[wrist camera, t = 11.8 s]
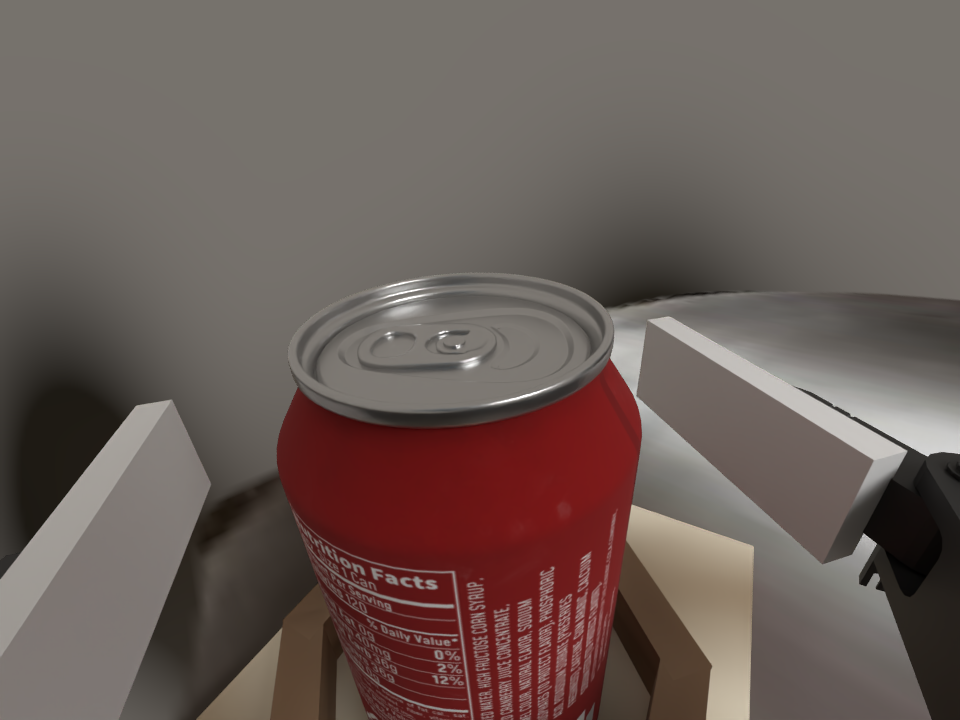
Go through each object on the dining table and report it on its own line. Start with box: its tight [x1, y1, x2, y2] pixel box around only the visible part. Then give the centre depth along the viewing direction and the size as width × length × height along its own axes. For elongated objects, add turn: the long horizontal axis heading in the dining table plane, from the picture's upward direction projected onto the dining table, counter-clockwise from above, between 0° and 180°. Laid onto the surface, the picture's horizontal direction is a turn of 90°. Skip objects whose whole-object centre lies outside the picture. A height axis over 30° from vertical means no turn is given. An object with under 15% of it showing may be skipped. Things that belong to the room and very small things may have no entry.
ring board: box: [196, 505, 754, 720], centre depth 13 cm, size 18×14×3 cm
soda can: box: [277, 273, 642, 720], centre depth 10 cm, size 7×7×12 cm
